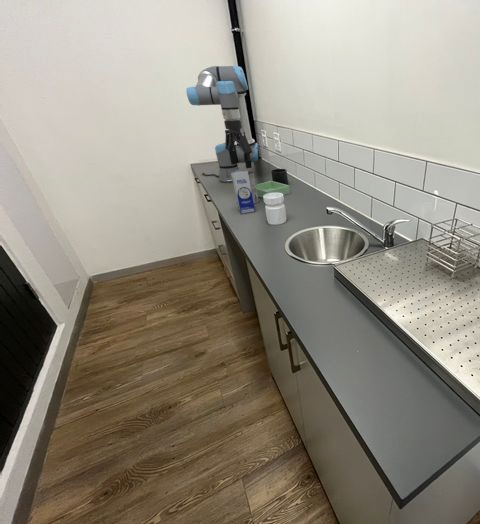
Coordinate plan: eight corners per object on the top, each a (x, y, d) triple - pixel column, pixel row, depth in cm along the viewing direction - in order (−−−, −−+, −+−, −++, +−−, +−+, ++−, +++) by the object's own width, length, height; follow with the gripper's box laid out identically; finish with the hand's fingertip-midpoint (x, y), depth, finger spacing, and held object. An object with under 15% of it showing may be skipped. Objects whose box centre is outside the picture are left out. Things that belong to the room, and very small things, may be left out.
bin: (250, 193, 171) (248, 186, 169) (272, 187, 181) (271, 180, 179) (268, 199, 161) (266, 191, 159) (290, 193, 171) (289, 185, 169)
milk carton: (240, 214, 142) (231, 172, 132) (238, 210, 148) (229, 169, 138) (255, 211, 145) (247, 170, 135) (252, 207, 150) (245, 167, 140)
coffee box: (237, 203, 157) (231, 172, 149) (245, 199, 162) (239, 170, 154) (252, 205, 154) (246, 174, 146) (259, 201, 159) (254, 171, 151)
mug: (286, 181, 194) (284, 167, 190) (289, 185, 185) (287, 171, 180) (271, 182, 191) (269, 168, 187) (274, 187, 182) (272, 172, 177)
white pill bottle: (277, 226, 129) (273, 199, 123) (263, 222, 133) (258, 196, 127) (290, 219, 135) (287, 194, 129) (276, 216, 139) (273, 191, 133)
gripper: (211, 119, 142) (222, 164, 153) (239, 121, 128) (248, 171, 139) (225, 117, 147) (235, 161, 158) (254, 120, 133) (262, 168, 144)
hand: (241, 166), depth 149 cm, fingers open, 13 cm apart
